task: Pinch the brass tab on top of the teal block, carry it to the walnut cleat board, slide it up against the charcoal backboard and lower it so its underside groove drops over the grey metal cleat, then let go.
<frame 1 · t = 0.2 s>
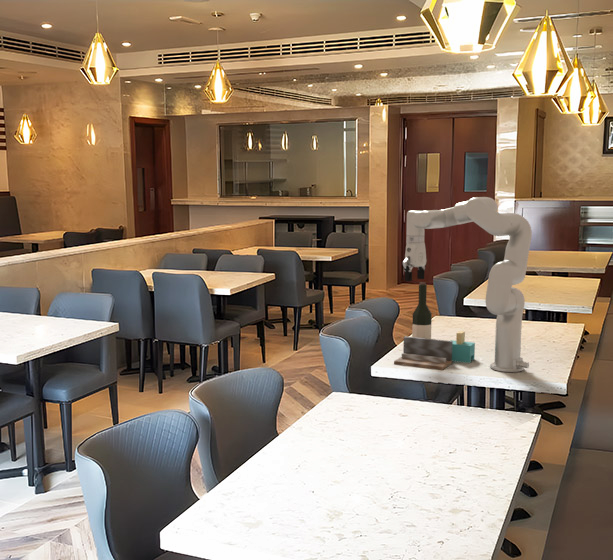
hand: (414, 280, 300), 31 cm above the table, fingers open, 9 cm apart
wall board: (423, 363, 281), on the table
teal block: (460, 359, 288), on the table
wine bottle: (421, 352, 301), on the table
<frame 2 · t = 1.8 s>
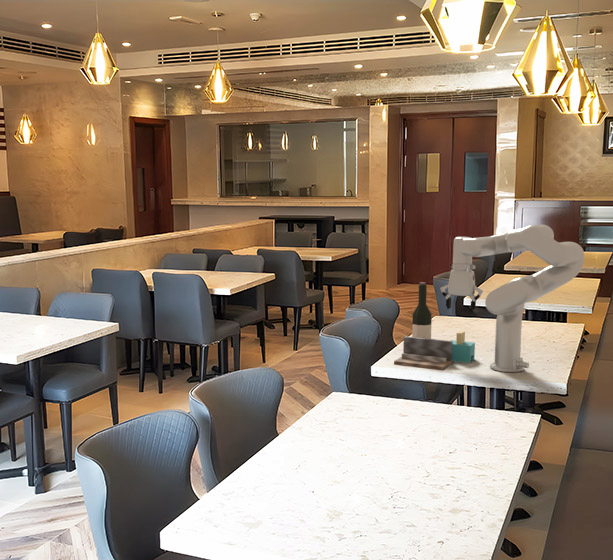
hand: (460, 309, 285), 21 cm above the table, fingers open, 9 cm apart
nothing on the table moved.
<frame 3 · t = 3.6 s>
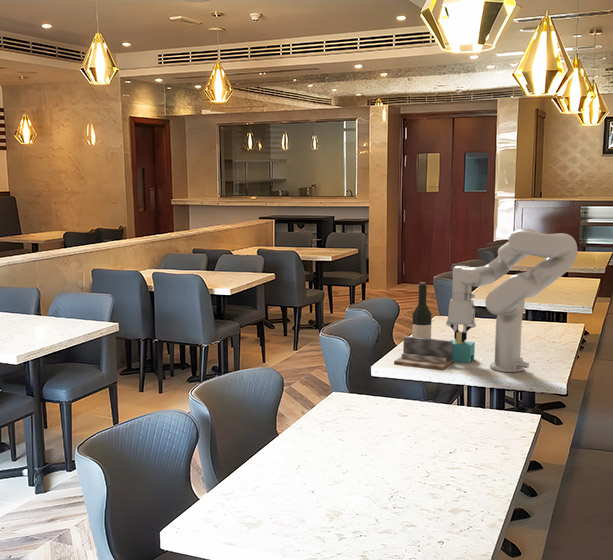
hand: (460, 340, 287), 8 cm above the table, fingers closed on teal block
teal block: (459, 359, 288), on the table, touching gripper
everything else where it was.
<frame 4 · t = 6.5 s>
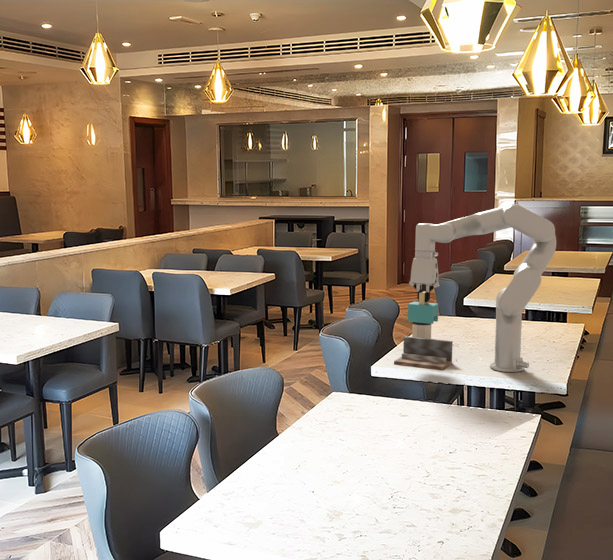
hand: (423, 301, 277), 25 cm above the table, fingers closed on teal block
teal block: (422, 321, 278), point 17 cm above the table, touching gripper
everything else where it was.
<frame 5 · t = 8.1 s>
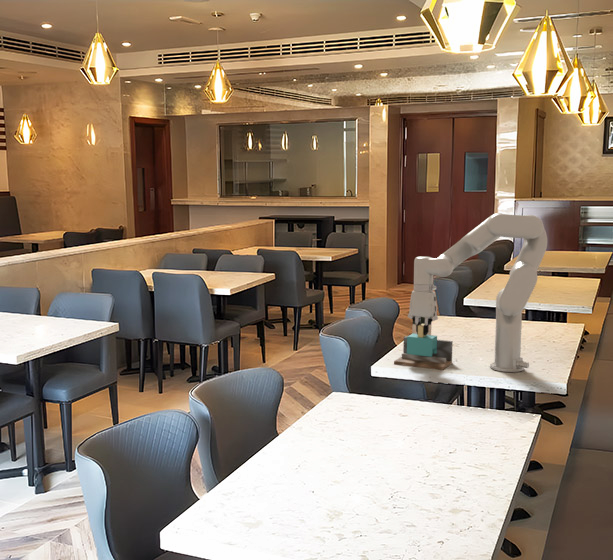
hand: (422, 333, 278), 12 cm above the table, fingers closed on teal block
teal block: (421, 353, 279), point 4 cm above the table, touching gripper
everything else where it was.
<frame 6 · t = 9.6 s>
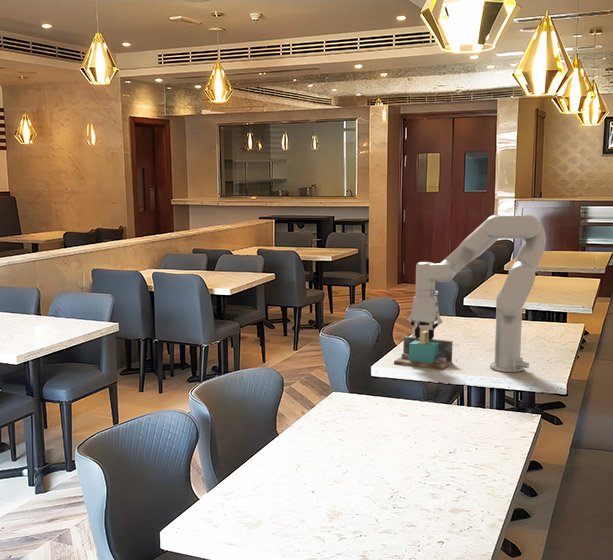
hand: (424, 338, 281), 10 cm above the table, fingers open, 4 cm apart
teal block: (423, 360, 282), point 1 cm above the table, touching wall board
everything else where it was.
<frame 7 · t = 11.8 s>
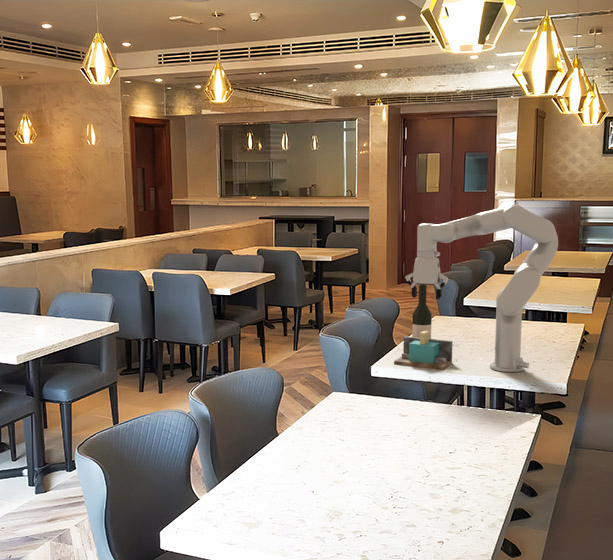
hand: (426, 298, 279), 26 cm above the table, fingers open, 9 cm apart
nothing on the table moved.
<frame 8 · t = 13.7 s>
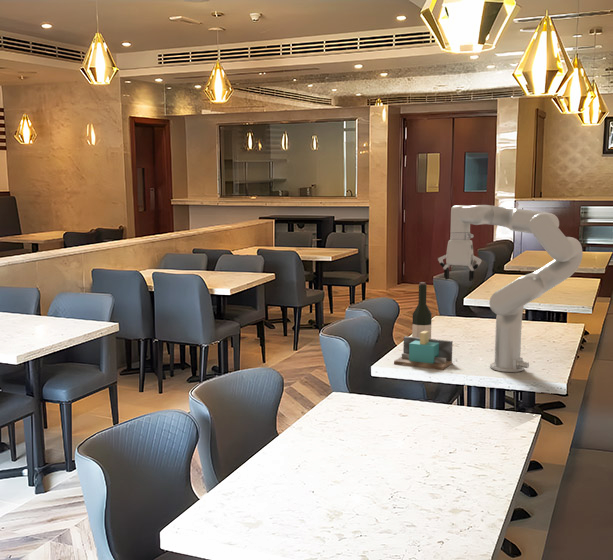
hand: (458, 279, 280), 33 cm above the table, fingers open, 9 cm apart
nothing on the table moved.
at the end: teal block inside the target area on the wall board (0.2 cm from its centre), point 1.2 cm above the wall board's base; teal block tilted 0°; the gripper is holding nothing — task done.
